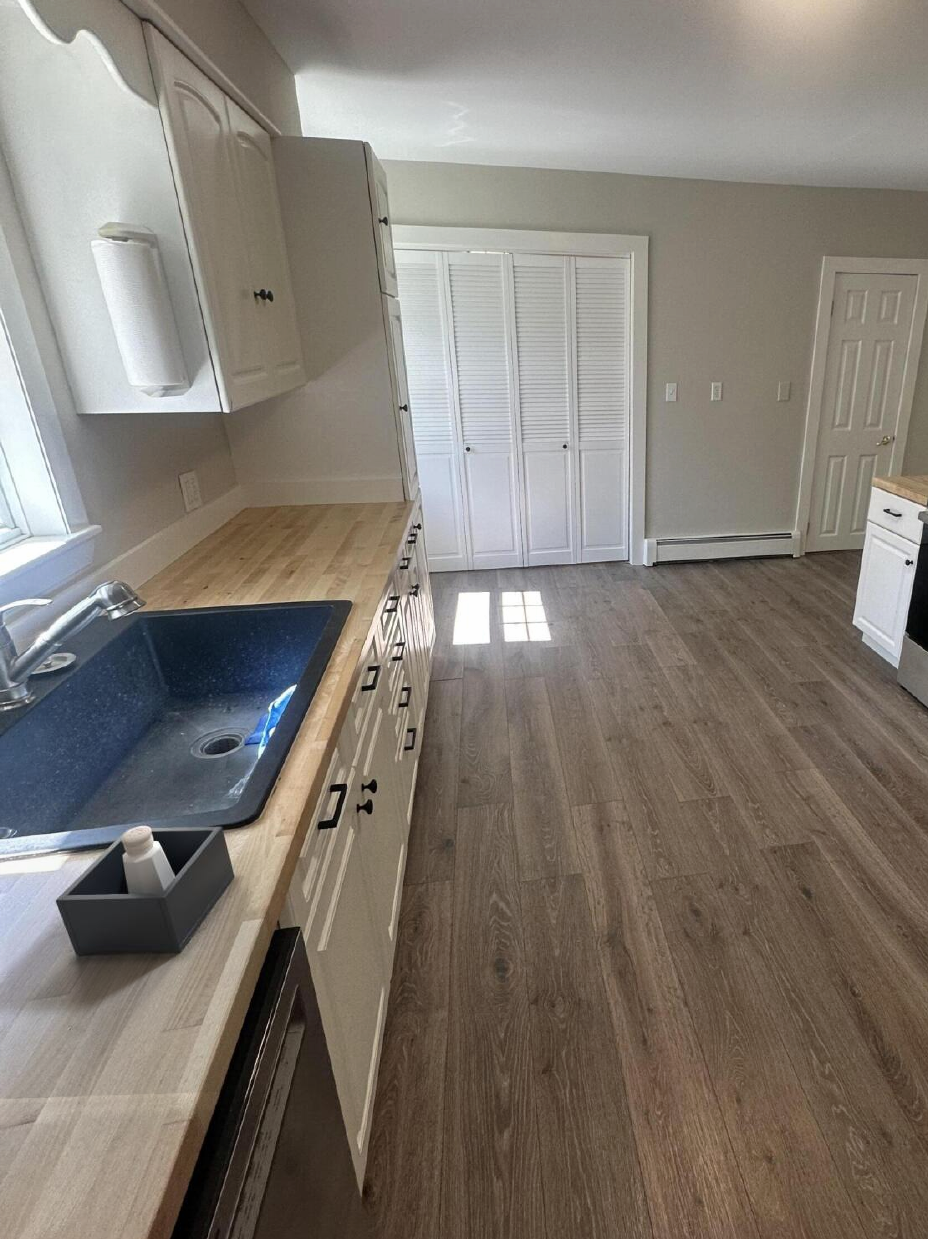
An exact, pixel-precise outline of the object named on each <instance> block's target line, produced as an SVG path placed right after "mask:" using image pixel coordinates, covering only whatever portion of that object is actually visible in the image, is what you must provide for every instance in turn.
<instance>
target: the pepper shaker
mask: <svg viewBox="0 0 928 1239" xmlns="http://www.w3.org/2000/svg"><path fill="white" fill-rule="evenodd" d="M151 828H152V827H150V826H147V825H140V826H135V827H133V828H130V829H131V830H129V831H127V832H126V833H125V834H124V835H123V836H122V838H121V842H122V843H123V844H124V849H125V850H126V853H124V854H123V863H124V869H125V875H126V881H127V887H128V893H129V894H155V893H163V892H164V890H165V889H166V888H167V887H168V886H169V884H170V883H171V882H172V881H173V879H174V878H175V875H174V873H173V871H172V869H171V867H170V865H169V863H168V860H167V858H166V856H165V854H164V852H163V850H162V847H161V845H160V844H159V842H158V841H153V836H152V834H151V833H152V830H151Z"/></svg>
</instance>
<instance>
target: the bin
mask: <svg viewBox="0 0 928 1239" xmlns="http://www.w3.org/2000/svg"><path fill="white" fill-rule="evenodd" d="M150 828H151V830H152V833H151V834H152V836H153V841H158V842H159V844H160V845H161V847H162V850H163V852H164V854H165V856H166V858H167V860H168V863H169V865H170V867H171V869H172V871H173V873H174V875H175V878H174V879H173V881H172V882H171V883H170V884H169V886H168V887H167V888H166V889H165V890H164V892H163V893H155V894H129V893H128V887H127V881H126V875H125V869H124V863H123V854H124V853H126V850H125V849H124V844H123V843H122V842H121V838H122V836H123V835H124V834H125V833H126V832H127V831H129V830H131V829H132V828H127V829H126V830H125V831H124V832H123V833H122V834H121V835H120V836H119V837H118V838H116V840H115V841H114V842H113V843H112V844H111V845H109V847H107V848H106V850H105V851H104V852H103V853H101V855H100V856H98V858H97V859H96V860H94V861H93V862H92V863H91V865H90V866H89V867H88V868H86V870H84V872H83V873H81V874H80V876H78V877H77V878H76V879H75V880H74V882H72V883H71V884H70V885H69V886H68V887H67V889H66V890H64V891H63V892H62V893H61V894H60V895H59V896H58V897H57V898H56V899H55V903H56V906H57V909H58V912H59V915H60V917H61V919H62V922H63V924H64V927H65V931H66V932H67V935H68V938H69V940H70V943H71V946H72V948H73V951H74V954H75V956H102V955H103V956H107V955H109V956H110V955H139V954H142V955H143V954H177V953H178V954H179V953H182V952H183V950H185V948H186V946H187V945H188V944H189V942H190V941H191V939H192V938H193V936H194V935H195V933H196V932H197V931H198V929H199V928H200V926H201V925H202V923H203V922H204V921H205V920H206V919H207V916H208V915H209V914H210V913H211V911H212V909H213V908H214V907H215V905H216V904H217V902H218V901H219V900H220V899H221V897H222V895H223V894H224V893H225V891H226V890H227V888H228V887H229V886H230V884H231V882H232V881H233V880H234V878H235V877H236V876H235V872H234V869H233V868H234V867H233V865H232V860H231V856H230V852H229V849H228V845H227V841H226V836H225V832H224V829H223V828H224V827H223V826H189V827H187V826H186V827H185V826H183V827H150Z"/></svg>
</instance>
